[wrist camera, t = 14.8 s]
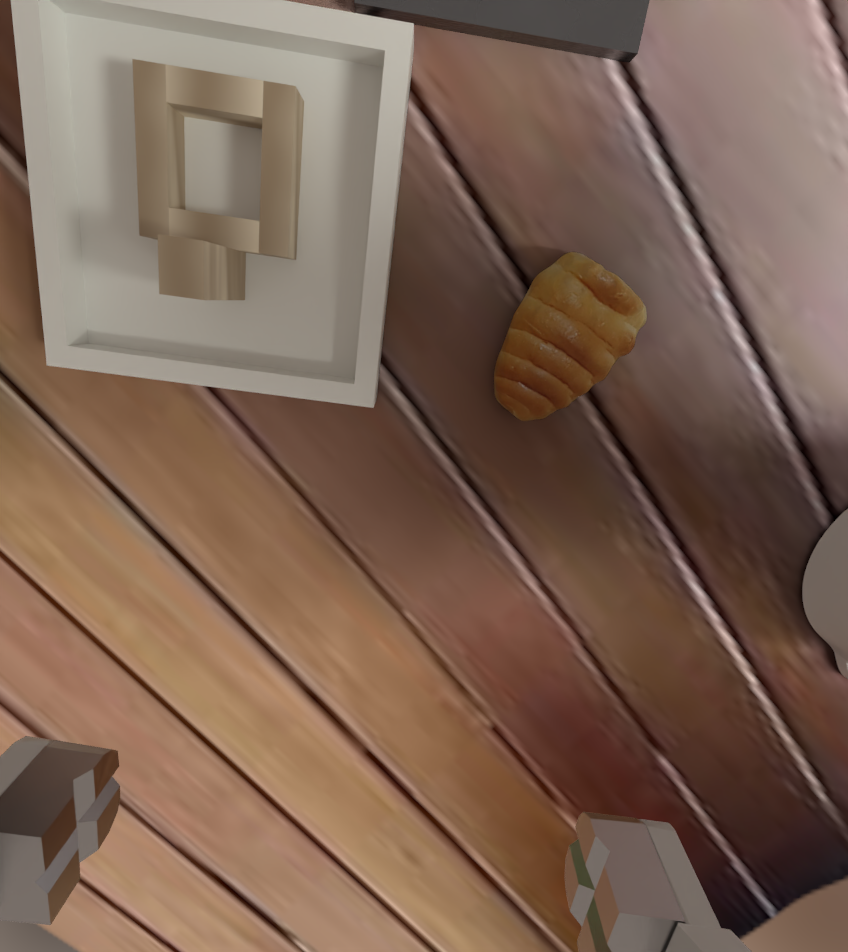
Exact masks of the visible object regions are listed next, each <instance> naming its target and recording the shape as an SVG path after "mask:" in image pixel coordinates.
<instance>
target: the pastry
mask: <svg viewBox="0 0 848 952" xmlns="http://www.w3.org/2000/svg"><path fill="white" fill-rule="evenodd" d="M646 319H647V313H646V307H645V305H644V304H643V302H642V301H641V299H640V297H639V296H637V295H636V294H635V293H634V292H633V290H632V289H631V288H630V287H629V286H628V285H627V284H625V283H624V281H623V280H622V279H621V278H620V277H618V276H617V275H616V274H614V273H612V272H610V271H607V270H605V269H604V268H603V266H602V265H600V264H598V263H596V262H595V261H593V260H591V259H590V258H588V257H586V256H585V255H583V254H581V253H576V252H569V253H567V254H564V255H563V256H562V257H560V258H559V259H558V260H557V261H556V262H555V263H553V264H552V265H551V266H550V267H548V268H547V269H545V270H543V271H542V272H541V273H539V274H538V275H537V276H536V277H535V279H534V280H533V282H532V284H531V286H530V288H529V290H528V292H527V294H526V295H525V297H524V299H523V301H522V302H521V304H520V305H519V307H518V308H517V310H516V312H515V314H514V316H513V318H512V321H511V325H510V327H509V330H508V333H507V335H506V338H505V341H504V343H503V345H502V349H501V351H500V353H499V356H498V359H497V362H496V365H495V370H494V391H495V397H496V399H497V401H498V402H499V403H500V404H501V405H502V406H503V407H504V408H505V409H507V410H508V411H510V412H511V413H512V414H513V415H514V416H515V417H517V418H518V419H520V420H522V421H529V420H535V419H543V418H545V417H547V416H548V415H550V414H551V413H553V412H555V411H556V410H558V409H562V408H565V407H568V406H569V405H570V403H571V402H573V401H574V400H575V399H576V398H577V397H578V396H581V395H583V394H585V393H586V392H588V391H589V390H590V388H591V387H592V386H593V385H594V384H596V383H598V382H600V381H602V380H604V379H605V377H606V376H607V375H608V373H609V371H610V369H611V367H612V366H613V365H614V364H615V362H616V360H617V359H618V358H619V357H620V356H623V355H626V354H628V353H630V351H631V350H632V349H633V347H634V345H635V338H636V335H637V333H638V331H639V329H640V328H641V327H642V326H644V324H645V322H646Z"/></svg>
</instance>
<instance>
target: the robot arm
mask: <svg viewBox="0 0 848 952" xmlns="http://www.w3.org/2000/svg"><path fill="white" fill-rule="evenodd" d="M802 598H803V605H804V610H805V613H806V616H807V618H808V620H809V622H810V624H811V626H812V627H813V628H814V630H815V631H816V632H817V633H818V635H820V636H821V637H822V638H823V639H824V640H825V641H826V642H827V643H828V644H829V645H830V646H831V647H832V649H833V650H834V654H835V658H836V662H837V665H838V668H839V671H840V672H841V674H842V675H843V676H844V677H846V678H847V679H848V509H847V510H846V511H844V512H843V513H842V514H841V515H840V516H839V517H838V518H837V519H836V520H835V521H834V522H833V523H832V525H831V526H830V527H829V528H828V529H827V531H826V532H825V533H824V535H823V536H822V537H821V539H820V540H819V542H818V544H817V545H816V547H815V549H814V551H813V552H812V555H811V557H810V559H809V562H808V564H807V567H806V571H805V574H804V579H803V587H802ZM118 767H119V760H118V751H116V750H112V749H106V748H100V747H94V746H88V745H82V744H76V743H69V742H63V741H57V740H49V739H43V738H36V737H30V736H25V737H23V738H22V739H20V740H18V741H16V742H15V743H13V744H12V745H11V746H10V747H9V748H8V749H7V750H6V751H5V752H4V753H3V754H2V755H1V756H0V920H3V921H14V922H24V923H35V924H46V925H51V924H52V922H53V920H54V919H55V917H56V916H57V914H58V913H59V911H60V909H61V908H62V906H63V905H64V903H65V902H66V900H67V898H68V897H69V895H70V894H71V892H72V891H73V889H74V887H75V886H76V884H77V883H78V881H79V879H80V862H81V861H83V860H84V859H86V858H87V857H88V856H90V855H91V854H93V853H94V852H96V851H97V850H98V849H99V848H100V846H101V844H102V843H103V841H104V839H105V838H106V836H107V834H108V833H109V831H110V828H111V826H112V824H113V821H114V819H115V816H116V814H117V811H118V806H119V801H120V785H119V784H118V783H117V782H116V781H115V779H114V778H113V777H112V775H113V774H114V773H115V771H116V770H117V768H118ZM576 831H577V835H578V840H577V841H575V842H574V843H572V844H571V845H570V846H569V849H568V852H567V856H566V860H565V887H566V895H567V900H568V904H569V909H570V912H571V913H572V914H573V916H574V917H575V918H576V920H577V921H578V922H579V923H580V925H581V926H582V929H581V932H580V935H579V937H578V940H577V945H578V949H579V952H751V950H750V949H749V948H747V946H746V945H745V944H744V943H743V942H742V941H741V940H740V939H739V938H738V937H737V936H736V935H735V934H734V933H733V932H732V931H731V930H729V929H723V928H721V927H720V925H719V923H718V921H717V919H716V916H715V914H714V912H713V910H712V908H711V906H710V904H709V902H708V899H707V897H706V895H705V893H704V891H703V889H702V887H701V885H700V882H699V880H698V878H697V876H696V874H695V872H694V870H693V868H692V865H691V863H690V861H689V859H688V857H687V855H686V853H685V851H684V848H683V846H682V844H681V842H680V840H679V838H678V836H677V834H676V832H675V829H674V828H673V827H672V826H671V825H670V824H669V823H665V822H657V821H650V820H642V819H639V820H638V819H637V818H631V817H622V816H614V815H606V814H597V813H589V812H583V813H582V814H581V815H580V816H579V818H578V821H577V824H576Z"/></svg>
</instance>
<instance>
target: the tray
mask: <svg viewBox="0 0 848 952" xmlns="http://www.w3.org/2000/svg"><path fill="white" fill-rule="evenodd" d="M11 9H12V19H13V29H14V39H15V49H16V59H17V69H18V80H19V90H20V100H21V110H22V120H23V130H24V140H25V150H26V160H27V170H28V181H29V191H30V201H31V211H32V221H33V231H34V241H35V251H36V261H37V272H38V282H39V292H40V302H41V312H42V322H43V332H44V342H45V352H46V362H47V365H48V366H55V367H63V368H71V369H78V370H86V371H94V372H101V373H109V374H117V375H124V376H132V377H140V378H147V379H155V380H163V381H170V382H178V383H186V384H193V385H201V386H209V387H217V388H224V389H232V390H240V391H247V392H255V393H263V394H270V395H278V396H286V397H293V398H301V399H309V400H316V401H324V402H332V403H339V404H347V405H355V406H363V407H370V408H374V405H375V402H376V399H377V390H378V380H379V371H380V362H381V352H382V343H383V333H384V324H385V315H386V305H387V296H388V287H389V277H390V268H391V259H392V249H393V240H394V231H395V221H396V212H397V203H398V193H399V184H400V174H401V165H402V156H403V146H404V137H405V128H406V118H407V109H408V100H409V90H410V81H411V72H412V62H413V53H414V23H409V22H403V21H397V20H392V19H386V18H380V17H375V16H369V15H363V14H358V13H352V12H347V11H341V10H335V9H330V8H324V7H318V6H313V5H307V4H302V3H296V2H290V1H285V0H11ZM132 59H136V60H142V61H148V62H154V63H160V64H166V65H172V66H178V67H184V68H190V69H196V70H202V71H208V72H214V73H220V74H226V75H232V76H238V77H244V78H250V79H256V80H262V81H268V82H274V83H281V84H287V85H293V86H296V88H297V89H298V91H299V93H300V95H301V97H302V98H303V100H304V116H303V136H302V156H301V175H300V195H299V215H298V235H297V255H296V260H293V259H286V258H279V257H272V256H265V255H258V254H251V253H246V277H245V300H199V299H192V298H185V297H177V296H170V295H163V294H159V269H158V240H156V239H152V238H148V237H143V236H139V215H138V189H137V164H136V139H135V114H134V89H133V64H132ZM184 137H185V210H189V211H196V212H203V213H209V214H216V215H223V216H230V217H236V218H243V219H250V220H256V221H259V220H260V185H261V150H262V129H258V128H252V127H246V126H240V125H234V124H227V123H221V122H215V121H209V120H202V119H196V118H190V117H184Z"/></svg>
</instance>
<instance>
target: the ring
mask: <svg viewBox="0 0 848 952" xmlns="http://www.w3.org/2000/svg"><path fill="white" fill-rule="evenodd" d="M132 64H133V89H134V114H135V139H136V164H137V189H138V215H139V236H143V237H148V238H152V239H156V240H158V269H159V294H163V295H170V296H177V297H185V298H192V299H199V300H245V277H246V253H251V254H258V255H265V256H272V257H279V258H286V259H293V260H296V255H297V235H298V215H299V195H300V175H301V156H302V136H303V116H304V100H303V98H302V97H301V95H300V93H299V91H298V89H297V88H296V86H293V85H287V84H281V83H274V82H268V81H262V80H256V79H250V78H244V77H238V76H232V75H226V74H220V73H214V72H208V71H202V70H196V69H190V68H184V67H178V66H172V65H166V64H160V63H154V62H148V61H142V60H136V59H132ZM184 117H190V118H196V119H202V120H209V121H215V122H221V123H227V124H234V125H240V126H246V127H252V128H258V129H262V150H261V185H260V220H259V221H256V220H250V219H243V218H236V217H230V216H223V215H216V214H209V213H203V212H196V211H189V210H185V137H184Z"/></svg>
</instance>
